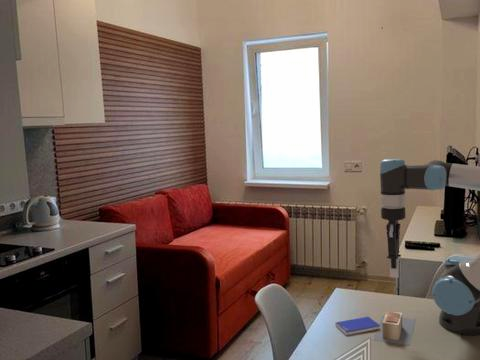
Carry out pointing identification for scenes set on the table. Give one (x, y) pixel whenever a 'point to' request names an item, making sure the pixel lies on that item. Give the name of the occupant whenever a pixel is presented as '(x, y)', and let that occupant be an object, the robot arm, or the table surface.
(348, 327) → the hard drive
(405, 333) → the slate mat
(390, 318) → the birch block
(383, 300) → the table surface
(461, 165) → the robot arm
